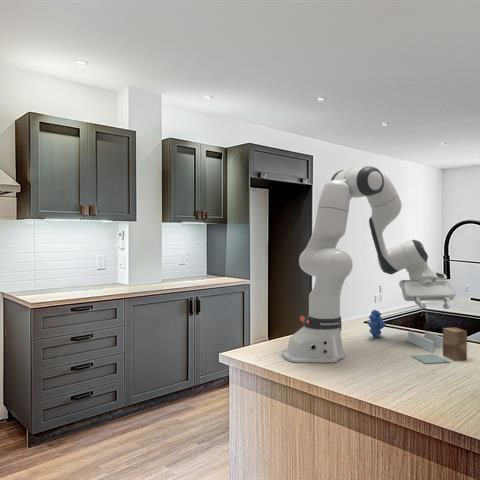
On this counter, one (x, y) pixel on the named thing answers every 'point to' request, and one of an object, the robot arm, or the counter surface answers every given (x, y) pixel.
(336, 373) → the counter surface
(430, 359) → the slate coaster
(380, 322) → the grapes
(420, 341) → the acrylic channel
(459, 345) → the walnut block
